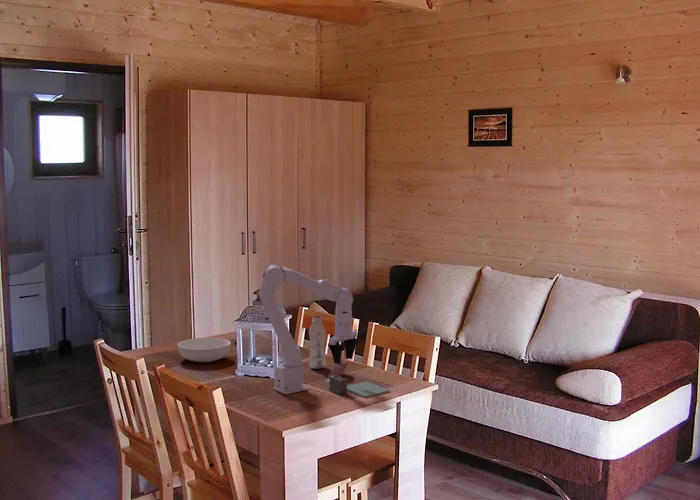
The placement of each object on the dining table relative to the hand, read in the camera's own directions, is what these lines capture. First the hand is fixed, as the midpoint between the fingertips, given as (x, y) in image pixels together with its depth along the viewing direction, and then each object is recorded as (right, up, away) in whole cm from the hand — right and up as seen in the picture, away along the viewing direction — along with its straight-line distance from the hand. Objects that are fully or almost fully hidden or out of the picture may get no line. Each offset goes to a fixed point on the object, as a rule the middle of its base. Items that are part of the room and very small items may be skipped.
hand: (343, 361), depth 271 cm
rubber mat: (+8, -10, -2) cm, 13 cm away
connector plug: (-2, -10, -3) cm, 11 cm away
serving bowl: (-56, -5, +38) cm, 67 cm away
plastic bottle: (-10, -7, +25) cm, 28 cm away
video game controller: (-2, -8, +14) cm, 17 cm away
